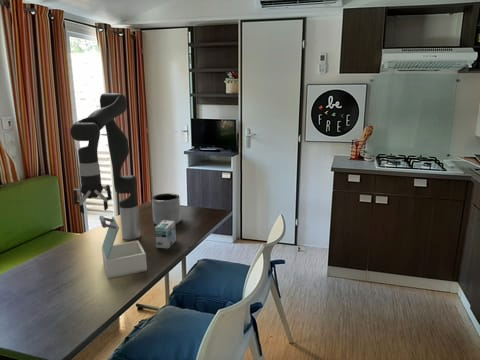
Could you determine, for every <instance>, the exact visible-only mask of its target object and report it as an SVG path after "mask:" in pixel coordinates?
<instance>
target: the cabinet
mask: <svg viewBox="0 0 480 360" xmlns="http://www.w3.org/2000/svg"><path fill="white" fill-rule="evenodd" d="M101 252H102V253H101V254H102V261H103V262H102V263H103V267H104V269H105V273H106V277H107V280H110V279H115V278H119V277H121V278H122V277H125V276H130V275H135V274H138V273H143V272H147V271H148V266H147V254H146V252H145V250H144V248H143V246H142V244H141V242H140V241H139V240H132V241H128V242H127V241H125V242H121V243H115V244H113V247H112V249H111V252H110V255H109V258H108V260H106V257H105V253H104V250H103V247H102V246H101Z"/></svg>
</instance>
